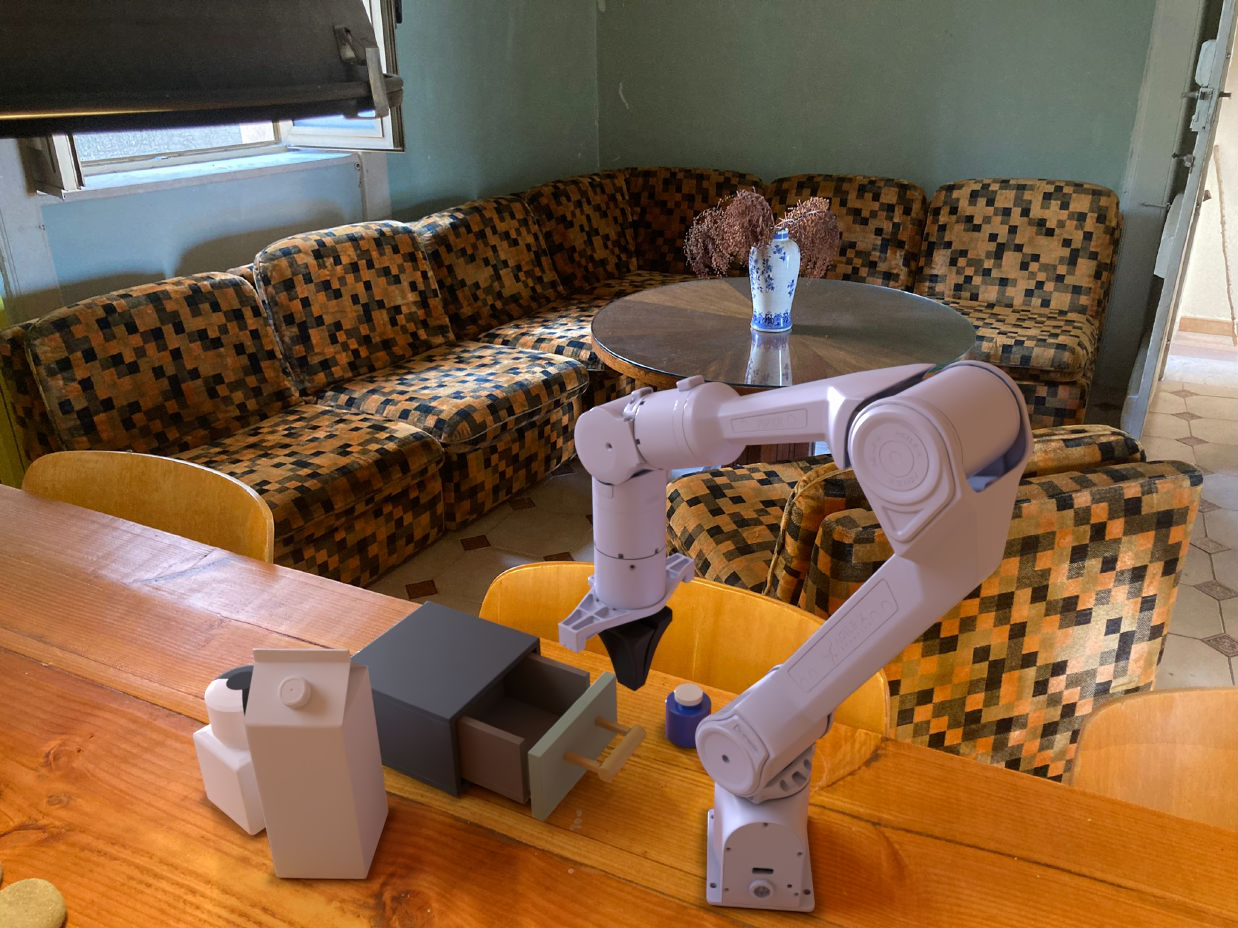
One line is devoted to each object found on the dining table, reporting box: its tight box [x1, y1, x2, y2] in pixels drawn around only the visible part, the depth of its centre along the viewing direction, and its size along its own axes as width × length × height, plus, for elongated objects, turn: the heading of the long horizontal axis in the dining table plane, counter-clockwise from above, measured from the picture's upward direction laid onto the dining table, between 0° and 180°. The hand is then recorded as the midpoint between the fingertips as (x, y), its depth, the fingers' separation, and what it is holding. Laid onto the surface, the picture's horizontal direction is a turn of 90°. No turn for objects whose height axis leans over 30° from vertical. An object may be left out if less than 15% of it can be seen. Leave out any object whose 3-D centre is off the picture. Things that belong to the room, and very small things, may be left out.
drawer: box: [455, 652, 648, 822], centre depth 84 cm, size 17×12×7 cm
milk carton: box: [244, 647, 389, 880], centre depth 74 cm, size 7×7×19 cm
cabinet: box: [350, 600, 542, 798], centre depth 89 cm, size 13×13×8 cm
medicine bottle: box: [192, 664, 266, 836], centre depth 81 cm, size 7×7×12 cm
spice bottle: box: [664, 682, 712, 749], centre depth 89 cm, size 4×4×5 cm
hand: (631, 682), depth 82 cm, fingers closed
